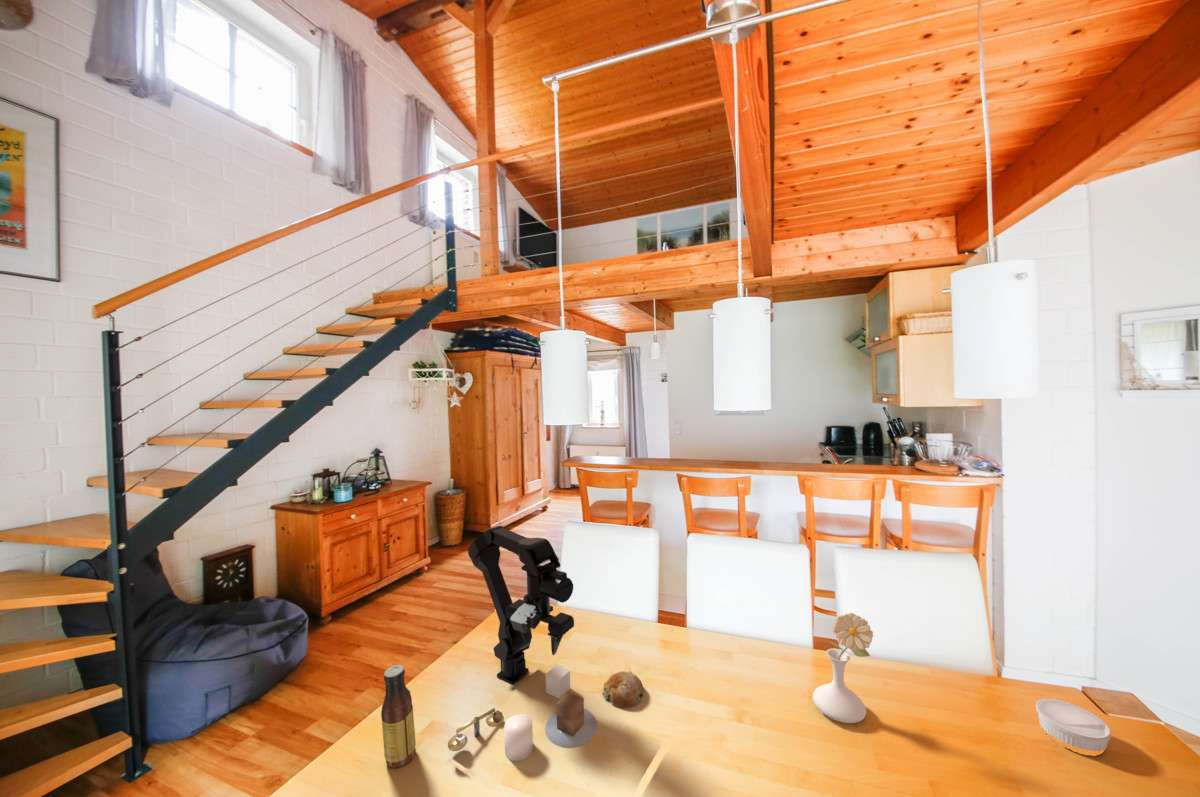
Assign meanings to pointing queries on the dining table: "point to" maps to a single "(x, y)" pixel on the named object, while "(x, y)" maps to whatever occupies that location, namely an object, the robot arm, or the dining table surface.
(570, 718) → the walnut block
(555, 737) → the dish
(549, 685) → the beige block
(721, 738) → the dining table surface
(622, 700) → the bread roll
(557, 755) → the dining table surface
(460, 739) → the balance
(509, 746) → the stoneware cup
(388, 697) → the sauce bottle
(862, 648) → the flower in vase
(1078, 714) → the ramekin
